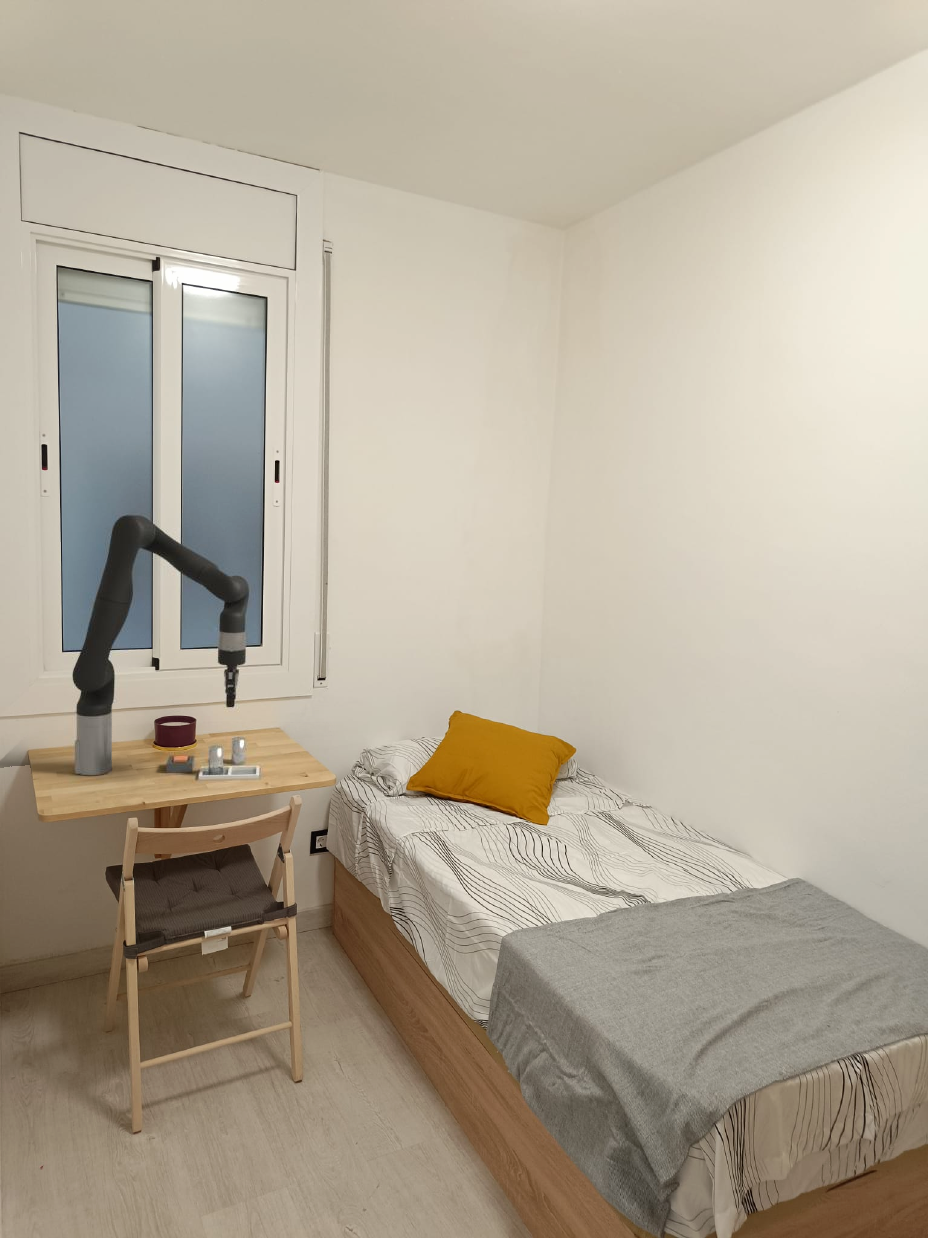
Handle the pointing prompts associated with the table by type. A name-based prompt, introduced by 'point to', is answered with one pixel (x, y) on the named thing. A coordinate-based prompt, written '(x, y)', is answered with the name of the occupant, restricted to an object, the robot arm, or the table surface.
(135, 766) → the table surface
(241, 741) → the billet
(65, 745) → the table surface
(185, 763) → the button housing
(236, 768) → the white divided tray
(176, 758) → the button
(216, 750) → the cylinder
